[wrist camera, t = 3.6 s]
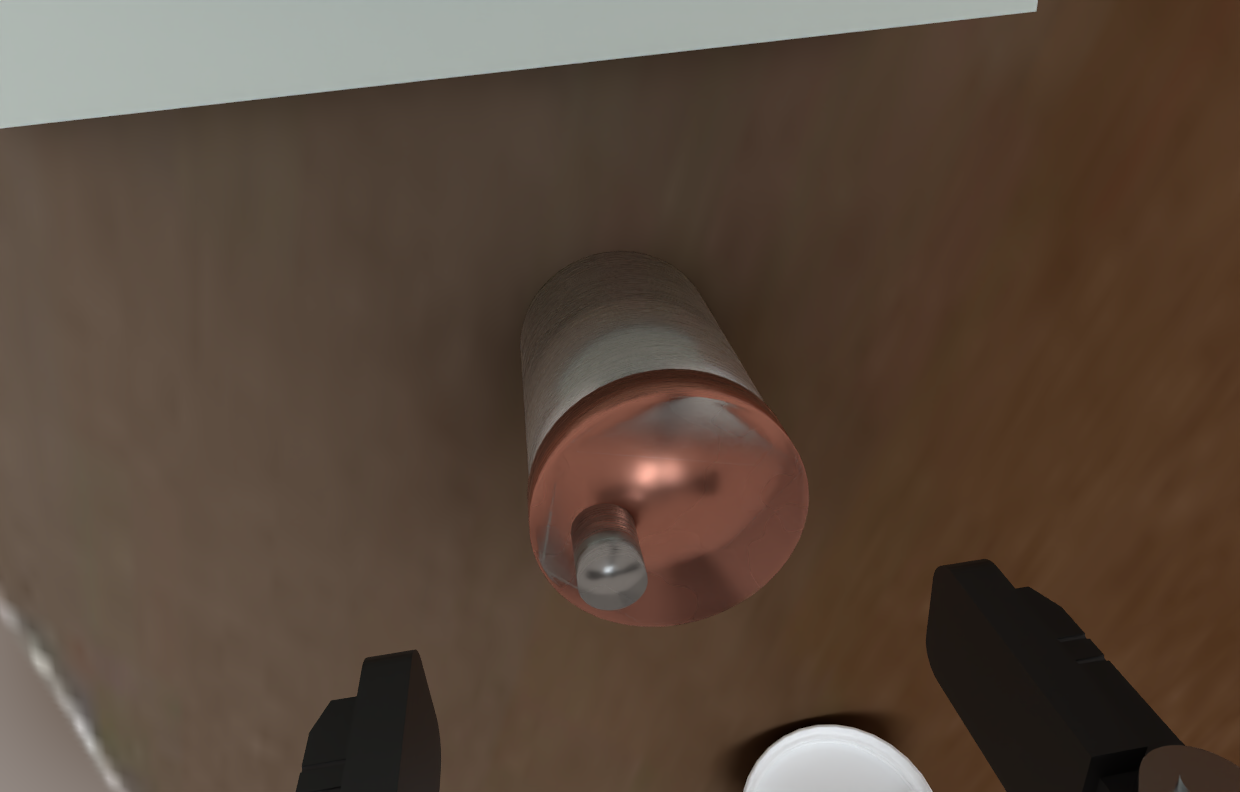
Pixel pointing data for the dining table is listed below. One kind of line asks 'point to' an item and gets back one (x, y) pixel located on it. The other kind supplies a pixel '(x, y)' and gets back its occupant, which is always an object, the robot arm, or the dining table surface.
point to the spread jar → (834, 764)
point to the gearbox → (373, 43)
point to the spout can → (650, 449)
